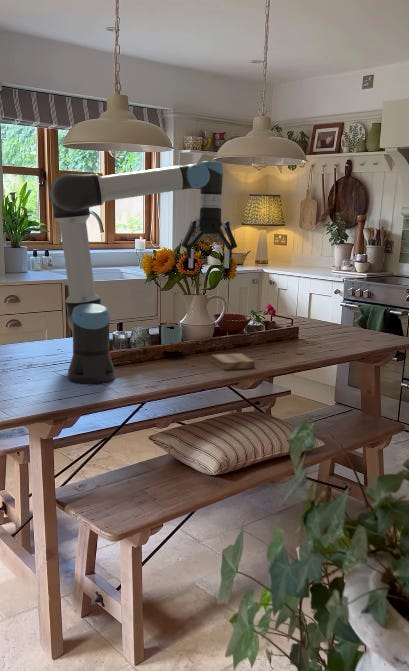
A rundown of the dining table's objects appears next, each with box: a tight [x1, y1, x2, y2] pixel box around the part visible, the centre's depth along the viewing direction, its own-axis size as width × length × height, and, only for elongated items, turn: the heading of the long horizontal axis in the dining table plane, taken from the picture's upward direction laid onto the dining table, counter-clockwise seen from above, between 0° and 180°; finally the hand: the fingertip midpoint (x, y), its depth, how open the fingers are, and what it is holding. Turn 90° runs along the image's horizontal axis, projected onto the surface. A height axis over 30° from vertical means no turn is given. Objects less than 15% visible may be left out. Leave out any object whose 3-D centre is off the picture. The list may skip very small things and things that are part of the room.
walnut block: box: [210, 352, 256, 370], centre depth 222 cm, size 12×12×3 cm
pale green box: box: [160, 324, 182, 345], centre depth 238 cm, size 8×8×10 cm
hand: (208, 267), depth 218 cm, fingers open, 13 cm apart
